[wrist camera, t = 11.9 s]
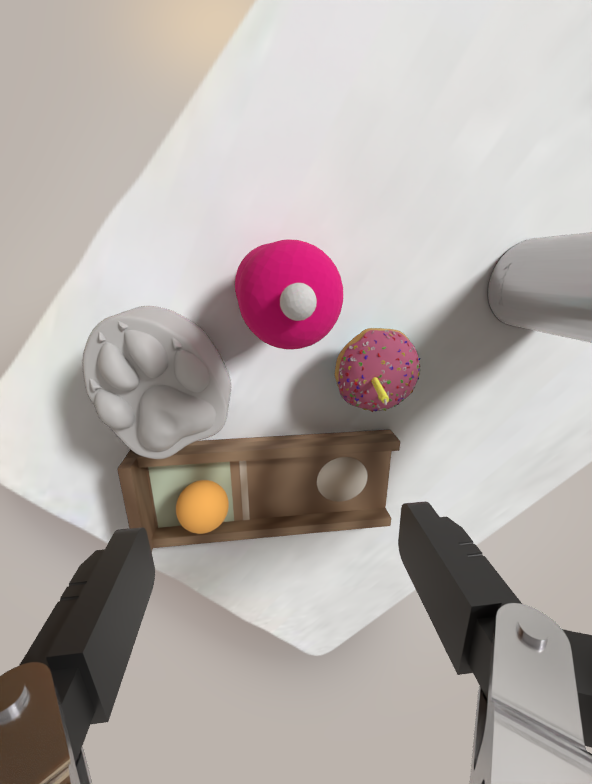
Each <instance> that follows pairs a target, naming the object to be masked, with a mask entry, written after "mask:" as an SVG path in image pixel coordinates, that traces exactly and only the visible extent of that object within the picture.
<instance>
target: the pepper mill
mask: <svg viewBox="0 0 592 784" xmlns="http://www.w3.org/2000/svg"><path fill="white" fill-rule="evenodd" d="M235 292H236V296H237V299H238V304H239V308H240V312H241V315H242V317H243V319H244V321H245V323H246V325H247V326H248V327H249V329H250V330H251V331H252V332H253V333H254V334H255V335H256V336H257V337H258V338H259V339H261V340H262V341H263V342H265V343H267V344H269V345H271V346H274V347H277V348H282V349H300V348H304V347H307V346H310V345H313V344H314V343H316V342H318V341H320V340H321V339H322V338H323V337H325V336H326V335H327V334H328V333H329V331H330V330H331V329H332V328H333V326H334V325H335V323H336V321H337V319H338V317H339V315H340V312H341V308H342V304H343V286H342V281H341V277H340V274H339V272H338V270H337V268H336V266H335V265H334V263H333V262H332V260H331V259H330V258H329V257H328V256H327V255H326V254H325V253H324V252H323V251H322V250H320V249H319V248H317V247H316V246H314V245H311V244H309V243H306V242H303V241H299V240H281V241H277V242H274V243H269V244H264V245H261V246H259V247H257V248H255V249H254V250H252V251H251V252H250V253H249V254H247V255H246V256H245V258H244V259H243V260H242V262H241V264H240V265H239V267H238V270H237V274H236V278H235Z"/></svg>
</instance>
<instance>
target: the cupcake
mask: <svg viewBox="0 0 592 784" xmlns="http://www.w3.org/2000/svg"><path fill="white" fill-rule="evenodd" d="M419 360H420V358H418V354H417V351H416V349H415V347H414V346H413V344H412V343H411V342H410V341H409V339H408V338H407V337H406V336H405V335H404V334H403V333H402V332H400V331H398V330H393V329H382V328H369V329H365V330H364V331H362V332H361V333H360V334H358V335H357V336H356V337H354V338H353V339H352V340H351V341H350V342H349V343H348V344H347V345H346V346H345V347H344V348H343V349H342V351H341V352H340V354H339V356H338V358H337V362H336V368H335V378H336V382H337V385H338V387H339V391H340V394H341V396H342V398H343V399H344V400H345V401H346V402H347V403H349V404H350V405H353V406H357V407H360V408H363V409H364V410H370V411H372V412H373V411H377V410H379V411H381V410H385V409H389V408H391V407H393V406H396V405H398V404H399V403H400V402H401V401H403V400H404V399H405V398H406V397H408V396H409V395H410V393H412V392H413V389H414V388H415V387H414V386H415V384H416V382H417V379H419V378H418V376H419V371H420V369H419V367H420V364H419ZM385 411H386V410H385Z"/></svg>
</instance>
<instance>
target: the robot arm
mask: <svg viewBox="0 0 592 784" xmlns="http://www.w3.org/2000/svg"><path fill="white" fill-rule="evenodd" d="M488 299H489V304H490V307H491V310H492V311H493V313H494V314H495V316H496V317H497V318H498V319H499V320H500V321H502V322H504V323H506V324H508V325H513V326H517V327H522V328H526V329H531V330H535V331H539V332H544V333H548V334H553V335H558V336H562V337H567V338H572V339H576V340H581V341H586V342H590V343H592V232H590V233H580V234H571V235H560V236H551V237H542V238H533V239H529V240H525V241H523V242H520V243H518V244H516V245H515V246H513V247H512V248H511V249H509V250H508V251H507V252H506V253H505V254H504V255H503V256H502V257H501V259H500V260H499V262H498V263H497V264H496V266H495V268H494V270H493V272H492V275H491V278H490V282H489V287H488ZM398 545H399V552H400V556H401V559H402V562H403V564H404V566H405V568H406V570H407V572H408V574H409V576H410V578H411V580H412V582H413V584H414V586H415V588H416V591H417V593H418V595H419V597H420V599H421V601H422V603H423V605H424V607H425V609H426V611H427V613H428V615H429V617H430V619H431V621H432V623H433V625H434V627H435V629H436V631H437V633H438V635H439V638H440V640H441V642H442V644H443V646H444V648H445V650H446V652H447V654H448V656H449V658H450V660H451V662H452V664H453V666H454V668H455V670H456V672H457V674H458V675H460V674H467V673H473V674H474V675H475V677H476V679H477V681H478V683H479V685H480V686H479V692H478V700H477V710H476V721H475V732H474V742H473V754H472V764H471V775H470V783H469V784H592V754H591V753H589V752H587V751H586V748H585V746H589V747H592V635H588V634H582V633H576V632H572V631H567V630H563V629H561V628H560V626H559V625H558V624H556V622H554V621H553V620H552V619H551V618H550V617H548V616H547V615H546V614H544V613H543V612H540V611H539V610H537V609H535V608H533V607H530V606H527V605H524V604H522V603H521V602H520V601H519V599H518V598H517V597H516V596H515V594H514V593H513V592H512V590H511V589H510V588H509V587H508V585H507V584H506V583H505V582H504V580H503V579H502V578H501V576H500V575H499V574H498V573H497V571H496V570H495V569H494V567H493V566H492V565H491V564H490V562H489V561H488V560H487V559H486V557H485V556H483V555H482V552H481V551H480V550H479V548H478V547H477V546H476V545H475V544H473V541H472V539H471V538H470V537H469V536H468V534H467V533H466V532H465V531H464V529H463V528H462V527H461V526H459V525H458V524H456V523H455V522H454V521H452V520H451V519H449V518H448V517H439V516H438V514H437V513H436V512H435V510H434V509H433V508H432V506H431V505H430V504H429V503H428V502H416V503H405V504H403V505H402V508H401V518H400V529H399V539H398ZM154 577H155V567H154V562H153V557H152V553H151V548H150V544H149V540H148V535H147V531H146V529H145V528H143V527H142V528H131V529H121V530H117V531H115V533H114V534H113V536H112V538H111V539H110V541H109V543H108V545H107V547H106V549H105V550H97V551H95V552H94V553H93V554H92V555H91V556H90V557H89V558H88V559H87V560H85V561H84V563H82V564H81V565H80V566H79V568H78V570H77V571H76V573H75V575H74V576H73V578H72V580H71V581H70V583H69V587H67V588H66V590H65V591H64V593H63V594H62V596H61V599H60V602H58V603H57V604H56V606H55V608H54V609H53V611H52V613H51V614H50V616H49V618H48V619H47V621H46V622H45V624H44V626H43V627H42V629H41V631H40V632H39V634H38V636H37V637H36V639H35V641H34V642H33V644H32V645H31V647H30V649H29V651H28V652H27V654H26V655H25V657H24V659H23V660H22V662H21V664H20V665H19V666H17V667H15V668H13V669H11V670H9V671H7V672H6V673H4V674H3V675H1V676H0V784H92V780H91V777H90V773H89V769H88V765H87V761H86V757H85V753H84V750H83V747H82V745H83V742H84V740H85V737H86V734H87V731H88V729H89V726H90V724H97V723H104V722H108V721H109V717H110V715H111V712H112V708H113V705H114V703H115V699H116V697H117V694H118V691H119V687H120V684H121V681H122V679H123V676H124V673H125V670H126V667H127V664H128V661H129V658H130V655H131V652H132V649H133V645H134V643H135V640H136V637H137V634H138V631H139V628H140V625H141V621H142V619H143V616H144V612H145V610H146V607H147V604H148V601H149V598H150V595H151V592H152V589H153V585H154V579H155V578H154Z"/></svg>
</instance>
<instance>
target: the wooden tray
mask: <svg viewBox="0 0 592 784" xmlns="http://www.w3.org/2000/svg"><path fill="white" fill-rule="evenodd" d="M399 448H400V440H399V439H398V438H397V437H396V436H395V435H394V433H393V432H392V431H391V430H376V431H359V432H342V433H324V434H307V435H290V436H273V437H256V438H238V439H221V440H204V441H195V442H193V443H190V444H189V445H187V446H185V447H184V448H182V449H181V450H180V451H178V452H177V453H175V454H174V455H172V456H170V457H167V458H164V459H152V458H147V457H143V456H140V455H138V454H136V453H135V452H133V451H132V450H131V449H130V451H129V452H128V454H127V455H126V457H125V458H124V460H123V461H122V463H121V464H120V466H119V467H118V474H119V479H120V484H121V489H122V493H123V498H124V503H125V508H126V513H127V518H128V523H129V527H130V529H131V528H142V527H143V528H145V529H146V531H147V535H148V540H149V544H150V548H151V552H152V549H153V548H159V547H169V546H180V545H191V544H201V543H212V542H223V541H233V540H244V539H255V538H265V537H276V536H287V535H298V534H308V533H319V532H330V531H340V530H351V529H362V528H372V527H383V526H390V525H391V517H390V515H389V513H388V511H387V510H386V508H385V506H386V497H387V488H388V478H389V469H390V460H391V451H399ZM199 480H209V481H213V482H215V483H217V484H219V485H220V486H221V487H222V488H223V489H224V491H225V492H226V494H227V497H228V502H229V508H228V512H227V515H226V517H225V519H224V521H223V522H222V524H221V525H220V526H219V527H217V528H216V529H214V530H213V531H211V532H208V533H203V534H197V533H192V532H190V531H188V530H186V529H185V528H184V527H183V526H182V525H181V524H180V522H179V520H178V518H177V515H176V504H177V500H178V497H179V495H180V494H181V492H182V491H183V490H184V489H185V488H186V487H187V486H188V485H190V484H191V483H193V482H196V481H199Z"/></svg>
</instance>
